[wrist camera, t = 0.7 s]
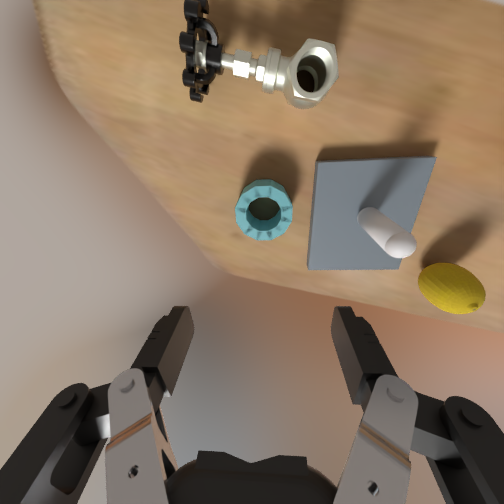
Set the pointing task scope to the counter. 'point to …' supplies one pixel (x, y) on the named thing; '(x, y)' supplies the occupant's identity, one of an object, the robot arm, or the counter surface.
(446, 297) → the lemon
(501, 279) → the counter surface
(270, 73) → the valve
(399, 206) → the post stand
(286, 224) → the collar
